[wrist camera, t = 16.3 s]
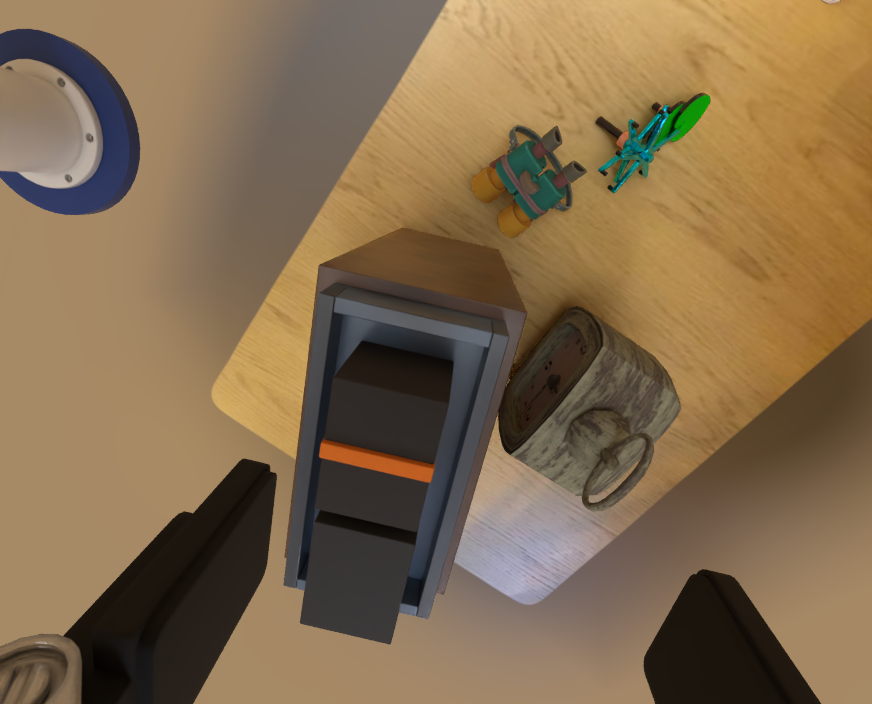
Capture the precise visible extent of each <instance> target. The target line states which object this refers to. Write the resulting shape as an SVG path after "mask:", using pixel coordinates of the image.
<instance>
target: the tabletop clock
mask: <svg viewBox="0 0 872 704" xmlns="http://www.w3.org/2000/svg"><path fill="white" fill-rule="evenodd" d="M680 410H681V406H680V401H679V398H678V395H677V392H676V390H675V387H674V385H673V382H672V380H671V378H670V376H669V374H668V372H667V371H666V370H665V368H664V367H663V366H662V365H661V363H660V362H659V361H658V360H657V359H656V357H655V356H653V355H652V354H650V353H649V352H647V351H646V350H644V349H643V348H641V347H640V346H639V345H637V344H636V343H634V342H633V341H631V340H630V339H628V338H627V337H625V336H624V335H622V334H621V333H620V332H618V331H617V330H615V329H614V328H612V327H611V326H609V325H608V324H606V323H605V322H604V321H602V320H601V319H599V318H598V317H596V316H595V315H593V314H592V313H590V312H589V311H587V310H585V309H584V308H582V307H577V306H576V307H570V308H568V309H567V310H566V311H565V313H564V314H563V315H562V316H561V317H560V319H559V320H558V321H557V322H556V323H555V324H554V325H553V327H552V328H551V329H550V330H549V331H548V333H547V334H546V335H545V336H544V337H543V339H542V340H541V341H540V342H539V343H538V345H537V346H536V347H535V348H534V349H533V351H532V352H531V353H530V355H529V356H528V357H527V359H526V360H525V361H524V363H523V364H522V365H521V367H520V368H519V369H518V371H517V372H516V373H515V375H514V376H513V377H512V379H511V380H510V382H509V383H508V385H507V386H506V388H505V390H504V394H503V397H502V401H501V404H500V407H499V411H498V421H499V433H500V437H501V442H502V445H503V448H504V450H505V451H506V452H507V453H508V454H510V455H511V456H513V457H514V458H516V459H518V460H519V461H521V462H523V463H524V464H526V465H527V466H529V467H531V468H532V469H534V470H535V471H537V472H539V473H540V474H542V475H544V476H545V477H547V478H548V479H550V480H552V481H553V482H555V483H556V484H558V485H560V486H561V487H563V488H565V489H566V490H568V491H569V492H571V493H573V494H574V495H576V496H582V502H583V504H584V506H585V507H586V508H587V509H589V510H591V511H602V510H605V509H607V508H609V507H612V506H613V505H615V504H616V503H617V502H619V501H620V500H621V499H623V498H624V497H625V496H626V495H627V494H628V493H629V492H630V491H631V490H632V489H633V488H634V487H635V486H636V484H637V483H638V482H639V481H640V479H641V478H642V477H643V476H644V474H645V473H646V471H647V469H648V467H649V465H650V463H651V460H652V456H653V453H654V443H655V442H656V441H657V440H658V439H659V438H660V437H661V436H662V435H663V434H664V433H665V432H666V430H667V429H668V428H669V427H670V426H671V424H672V423H673V422H674V420H675V419H676V417H677V415H678V414H679V412H680ZM641 457H642V458H641ZM640 459H641V460H640ZM638 460H640V461H639V463H638V465H637V466H636V468H635V469H634V470H633V472H632V473H631V474H630V475H629V476H628V477H627V479H626V480H625V481H624V482H623V483H622V484H621V485H620V486H619V487H618V488H617V489H616V490H615V491H613V492H612V493H611V494H610V495H609V496H607V497H606V498H605V499H603V500H601V501H599V502H597V503H590V502H589V500H588V497H589V495H597V494H599V493H601V492H603V491H605V490H606V489H608V488H609V487H610V486H611V485H613V484H614V483H615V482H616V481H617V480H618V479H619V478H620V477H621V476H622V475H623V474H625V473H626V472H627V471H628V470H629V469H630V468H631V467H632V466H633V465H634V464H635V463H636V462H637V461H638Z"/></svg>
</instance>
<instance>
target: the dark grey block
mask: <svg viewBox="0 0 872 704" xmlns="http://www.w3.org/2000/svg"><path fill="white" fill-rule="evenodd" d="M418 528H419V526H418ZM417 534H418V530H417V532H414V531H410V530H405V529H401V528H397V527H392V526H388V525H384V524H379V523H375V522H371V521H366V520H362V519H358V518H354V517H349V516H345V515H341V514H336V513H332V512H328V511H323V510H320V511H319V514H318V516H317V518H316V520H315V522H314V528H313V535H312V542H311V549H310V556H309V563H308V570H307V577H306V584H305V591H304V598H303V605H302V612H301V619H300V623H301V624H304V625H309V626H313V627H317V628H322V629H326V630H330V631H334V632H339V633H343V634H347V635H352V636H356V637H361V638H364V639H369V640H374V641H378V642H382V643H386V644H391V640H392V637H393V633H394V629H395V625H396V621H397V617H398V613H399V609H400V605H401V601H402V597H403V593H404V590H405V586H406V582H407V578H408V574H409V570H410V566H411V562H412V558H413V554H414V550H415V546H416V540H417Z"/></svg>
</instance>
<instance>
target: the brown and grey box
mask: <svg viewBox="0 0 872 704" xmlns="http://www.w3.org/2000/svg"><path fill="white" fill-rule="evenodd" d="M526 316H527V311H526V309H525V306H524V304H523V302H522V300H521V298H520V296H519V293H518V291H517V289H516V287H515V285H514V283H513V280H512V278H511V276H510V274H509V272H508V270H507V267H506V265H505V263H504V261H503V259H502V257H501V254H500V252H499V250H498V249H493V248H489V247H484V246H480V245H476V244H471V243H467V242H463V241H458V240H454V239H449V238H445V237H441V236H436V235H432V234H428V233H423V232H419V231H414V230H410V229H406V228H401V229H399V230H397V231H394V232H392V233H390V234H388V235H385V236H383V237H381V238H379V239H376V240H374V241H372V242H370V243H367V244H365V245H363V246H361V247H358V248H356V249H354V250H352V251H349V252H347V253H345V254H343V255H340V256H338V257H336V258H334V259H331V260H329V261H327V262H325V263H322V264H320V265H319V269H318V277H317V286H316V294H315V303H314V311H313V320H312V328H311V337H310V345H309V354H308V362H307V371H306V379H305V388H304V396H303V405H302V413H301V422H300V430H299V439H298V447H297V456H296V464H295V473H294V482H293V490H292V499H291V507H290V515H289V524H288V533H287V541H286V549H285V558H287V561H286V569H285V578H284V586H288V587H292V588H297V589H301V590H305V584H306V577H307V570H308V563H309V556H310V549H311V542H312V535H313V528H314V522H315V520H316V518H317V516H318V514H319V511H320V510H319V509H315V501H316V494H317V487H318V480H319V473H320V466H321V459H322V458H320V457H319V453H320V446H321V442H322V441H323V439H324V437H325V431H326V424H327V417H328V410H329V403H330V396H331V389H332V382H333V377H334V376H335V374H336V373H337V372H338V370H339V369H340V368H341V367H342V365H343V364H344V363H345V361H346V360H347V359H348V357H349V356H350V355H351V354H352V352H353V351H354V350H355V348H356V347H357V346H358V345H359V343H360V342H361V341H362V340H363V341H367V342H372V343H376V344H380V345H385V346H389V347H393V348H398V349H402V350H406V351H411V352H415V353H420V354H424V355H428V356H433V357H437V358H441V359H446V360H450V361H453V362H454V367H453V375H452V384H451V392H450V401H449V407H448V411H447V415H446V419H445V423H444V426H443V430H442V434H441V438H440V442H439V446H438V450H437V454H436V458H435V468H434V473H433V477H432V481H431V482H430V483H429V486H428V490H427V494H426V498H425V502H424V506H423V510H422V514H421V518H420V522H419V528H418V534H417V540H416V546H415V550H414V554H413V558H412V562H411V566H410V570H409V574H408V578H407V582H406V586H405V590H404V593H403V597H402V601H401V605H400V609H399V612H400V613H404V614H408V615H413V616H417V617H421V618H425V619H428V618H429V615H430V612H431V609H432V605H433V602H434V598H435V595H436V593H440V594H444V592H445V589H446V586H447V582H448V579H449V576H450V572H451V569H452V566H453V562H454V559H455V555H456V552H457V549H458V545H459V542H460V539H461V535H462V532H463V529H464V525H465V522H466V518H467V515H468V512H469V508H470V505H471V502H472V498H473V495H474V492H475V488H476V485H477V481H478V478H479V475H480V471H481V468H482V465H483V461H484V458H485V454H486V451H487V448H488V444H489V441H490V438H491V434H492V431H493V428H494V424H495V421H496V417H497V414H498V411H499V407H500V404H501V401H502V397H503V394H504V390H505V387H506V384H507V380H508V377H509V374H510V370H511V367H512V364H513V360H514V357H515V353H516V350H517V347H518V343H519V340H520V337H521V333H522V330H523V327H524V323H525V320H526Z"/></svg>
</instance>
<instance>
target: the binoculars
mask: <svg viewBox="0 0 872 704" xmlns="http://www.w3.org/2000/svg"><path fill="white" fill-rule="evenodd" d="M515 131H517V132H521V133H523V134H525V135H527V136H528V137H530V138H531V139H532V140H533V141H534V142H535V143H536V144H537V145H536V144H535V143H534V142H533V141H529V140H527V141H525V142H524V143H523V144H521V145H520V146H519V143H518V140H517V137H516V133H515ZM509 137H510V144H511V146H510V147H509V148H510V150H509V151H508V152H507V154H506V155H502V156H501V157H499V158H498V159H496V160H495V161H493V162H492V163H490V165H489V167H487V168H485V169H484V170H483V171H481V172H480V173H479V174H477V175H476V176H475V177H474V178H473V180H472V190H473V193H474V194H475V196H476V197H477V198H478V199H479V200H480V201H482V202H484V203H491V202H493V201H494V200H495V199H496V198H497V197H498V196H499V195H500V194H501V193H503V192H504V191H505V189H508V191H509V192H510V193H511V194H514V199H513V202H514V204H512V205H510V206H509V207H507V208H506V209H504V210H502V211H501V212H500V213H499V215H498V225H499V228H500V230H501V231H502V232H503V234H505V235H506V236H507V237H510V238H515V237H517V236H518V235H519V234H521V233H522V232H523V231H525V230H526V229H527V228H528V227H530V222H531V221H533V220H534V219H537V218H538V217H539V216H541V215H544V214H545V213H546V212H547V211H548V209H550V208H551V209H554V208H555V209H556V210H560V211H566V210H567V209H569V208H571V206H572V190H571V186H570V183H569V182H571V183H572V182H574V181H575V180H577V179H578V178H579V177H581V176H582V175H584V174H585V173H587V170H586V169H585V168H584V167H583V166H582V165H580V164H579V163H578V162H576V161H572V162H571V163H570V164H568V165H567V166H565V167H564V168H562V166H561V164H560V162H559V161H558V159H557V158H556V156H555V155H554V153H553V152H552V151H554V150H555V149H556V148H557V147H559V146H560V145H561V144H562V138H561V135H560V131H559V128H558V126H555V127H554V128H553V129H552V130H550V131H549V132H548V133H547V134H546V135H544V136H543V137H542V139H541V138H540V137H539V136H538V135H537V134H536V133H535V132H534V131H532V130H531V129H529V128H527V127H524V126H519V125H517V126H515V127H514V128H513V129H512V130H511V131H510V133H509ZM510 151H511V152H510ZM509 152H510V153H509ZM544 155H547V157H548V158H549V160H550V161H551V163H552V164H553V166H554V167H555V169H556V171H557V173H558V175H557V174H556V173H555V172H554V171H553V170H551V169H548V170H547V171H545V172H544V173H543V174H541V175H540V176H539V177H538V174H539V173H541V172H542V171H543V169H544V168H545V167H546V166H547V162H546V159H545V157H544ZM565 193H566V206H565V205H563V204H562V203H560V202H559V201H560V200H561V199H562V198H564V197H565Z"/></svg>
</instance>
